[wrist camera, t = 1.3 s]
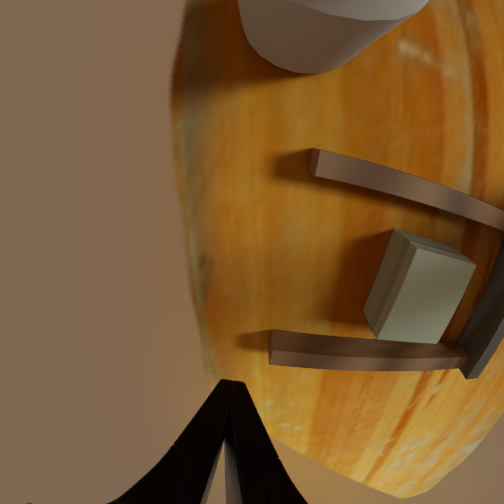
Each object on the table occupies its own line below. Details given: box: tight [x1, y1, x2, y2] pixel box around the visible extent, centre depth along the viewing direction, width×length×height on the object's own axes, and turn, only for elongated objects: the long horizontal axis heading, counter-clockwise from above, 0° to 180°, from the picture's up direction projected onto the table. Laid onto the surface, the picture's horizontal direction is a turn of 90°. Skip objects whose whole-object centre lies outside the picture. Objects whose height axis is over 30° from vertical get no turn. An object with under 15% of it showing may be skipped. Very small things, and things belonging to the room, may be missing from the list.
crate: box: [363, 229, 476, 344], centre depth 19 cm, size 6×7×4 cm
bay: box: [268, 148, 504, 379], centre depth 19 cm, size 22×16×4 cm
